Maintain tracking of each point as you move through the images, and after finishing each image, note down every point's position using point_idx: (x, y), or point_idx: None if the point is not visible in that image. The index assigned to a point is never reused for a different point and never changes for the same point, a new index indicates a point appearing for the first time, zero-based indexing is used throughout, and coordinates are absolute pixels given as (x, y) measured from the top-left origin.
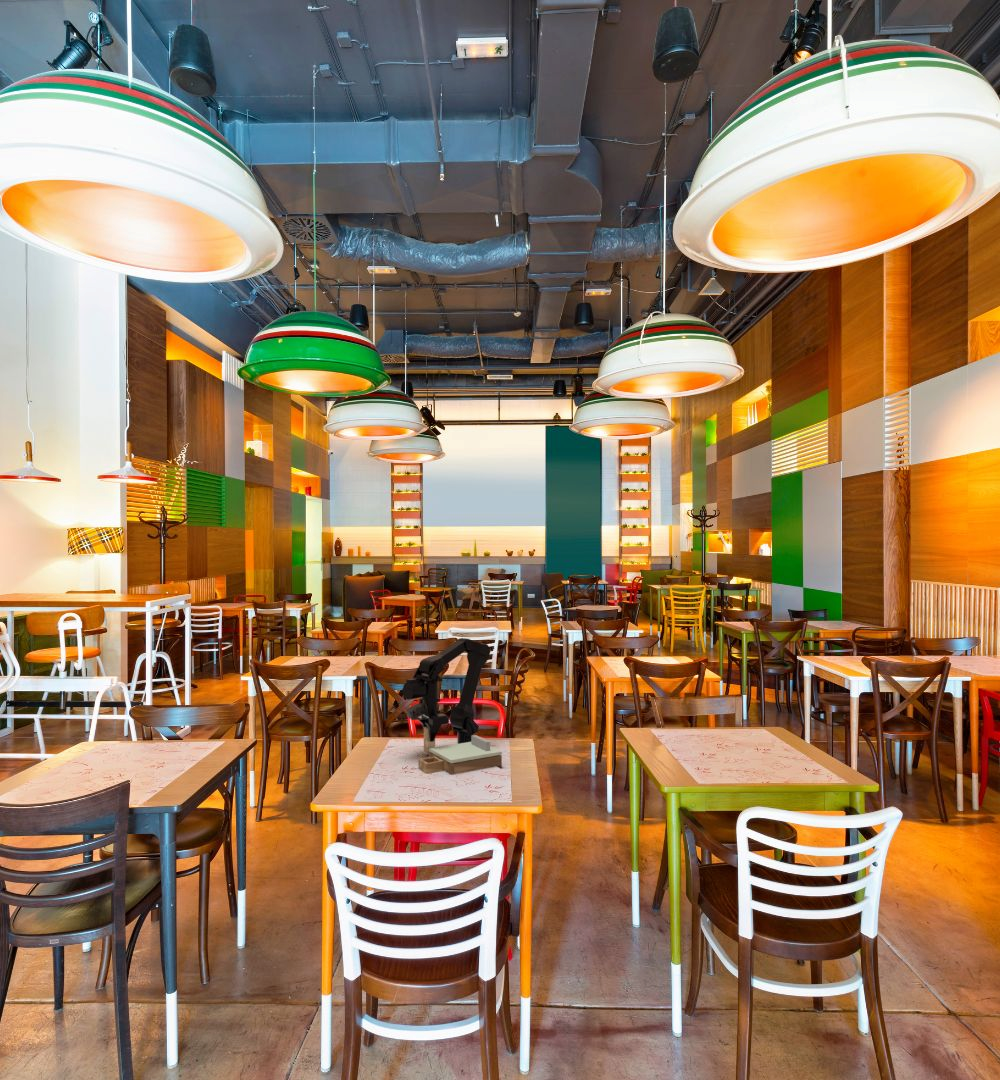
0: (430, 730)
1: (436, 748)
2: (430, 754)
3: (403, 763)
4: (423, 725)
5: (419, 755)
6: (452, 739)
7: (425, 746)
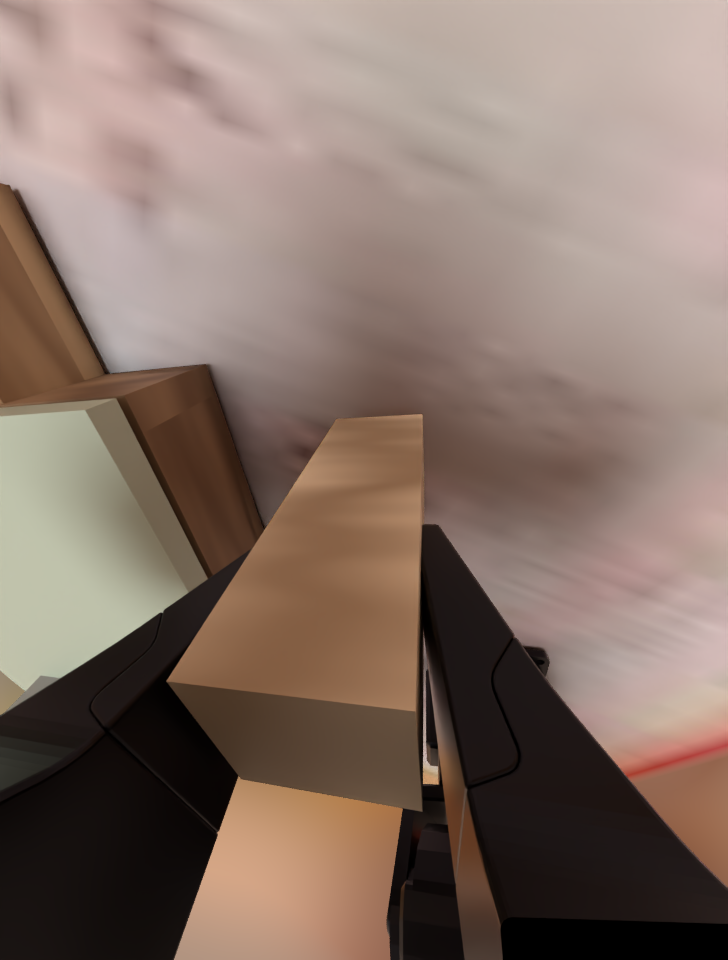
0: (91, 661)
1: (85, 479)
2: (106, 392)
3: (345, 91)
4: (482, 771)
5: (535, 395)
6: (724, 712)
7: (369, 447)
